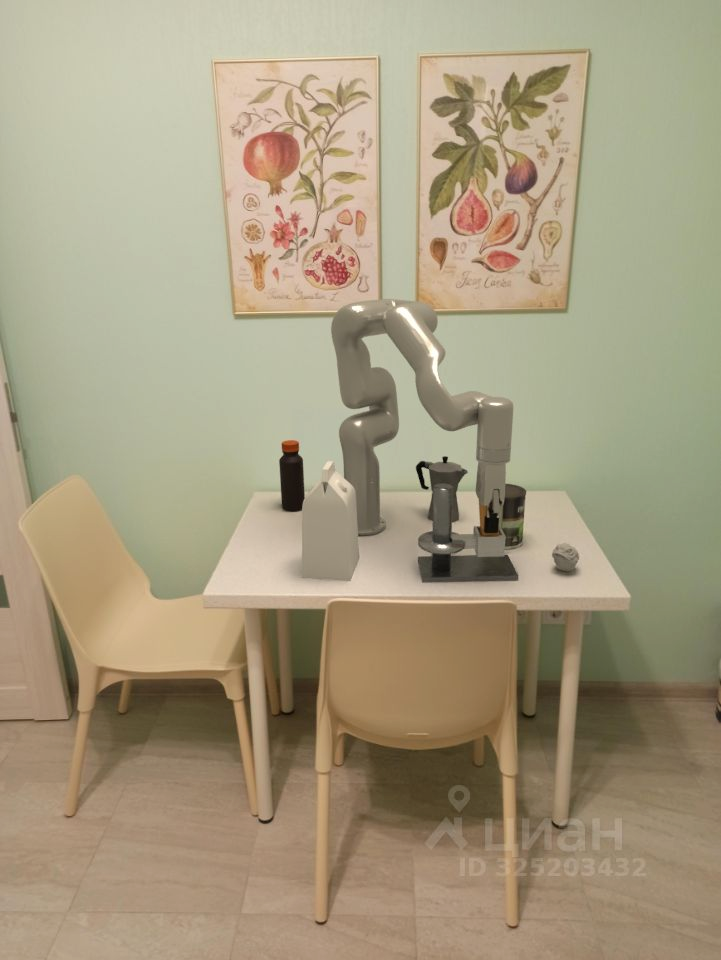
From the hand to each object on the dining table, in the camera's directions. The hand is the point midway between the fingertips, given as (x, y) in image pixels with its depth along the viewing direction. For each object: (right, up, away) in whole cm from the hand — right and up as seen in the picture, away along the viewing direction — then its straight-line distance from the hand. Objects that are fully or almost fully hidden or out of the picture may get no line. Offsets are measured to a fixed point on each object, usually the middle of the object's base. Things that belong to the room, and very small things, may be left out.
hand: (489, 528), depth 158 cm
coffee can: (+7, -5, +19) cm, 21 cm away
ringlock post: (-5, -10, +4) cm, 12 cm away
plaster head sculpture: (+18, -10, +3) cm, 21 cm away
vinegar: (-50, +3, +43) cm, 65 cm away
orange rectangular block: (0, -3, +1) cm, 3 cm away
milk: (-37, -10, +6) cm, 39 cm away
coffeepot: (-7, +1, +35) cm, 35 cm away
